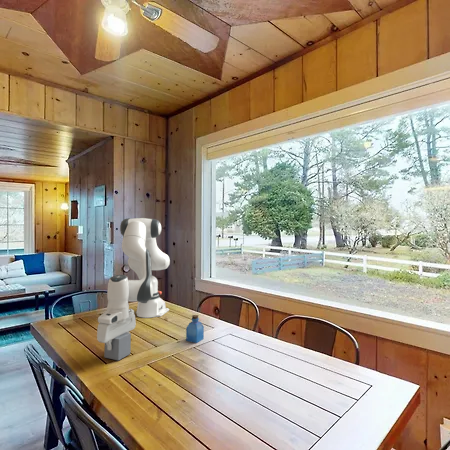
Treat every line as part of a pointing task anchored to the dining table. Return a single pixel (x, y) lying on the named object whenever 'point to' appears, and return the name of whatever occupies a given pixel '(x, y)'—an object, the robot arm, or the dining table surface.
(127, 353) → the gray cuboid
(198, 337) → the perfume bottle
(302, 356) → the dining table surface
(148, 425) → the dining table surface
